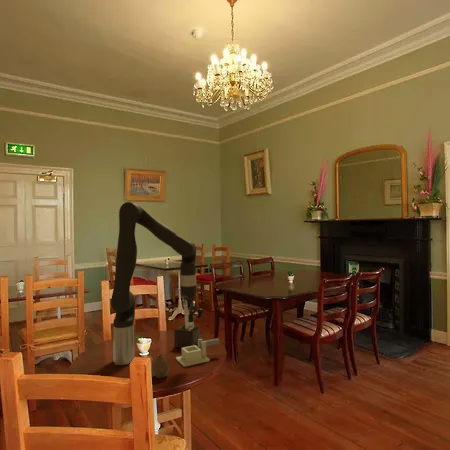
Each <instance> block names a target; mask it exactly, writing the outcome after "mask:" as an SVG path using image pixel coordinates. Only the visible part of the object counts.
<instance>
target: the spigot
mask: <svg viewBox="0 0 450 450" xmlns="http://www.w3.org/2000/svg"><path fill="white" fill-rule="evenodd" d="M194 317H195V316H194V314H193V319H194ZM194 320H195V319H194ZM194 322H195V321H193V322H191V323H190V322H189V320H188V309H187V307H186V306H185V312H184V325H185V329H193V328H194V326H195V325H194V324H195V323H194Z"/></svg>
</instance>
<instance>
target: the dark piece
mask: <svg viewBox="0 0 450 450" xmlns="http://www.w3.org/2000/svg"><path fill="white" fill-rule="evenodd" d="M196 313H197V316H194V320H195V319H201V318H203V314H204V313H205V311H204V309H203V308H198V309H196ZM173 338H174V342H173V343H174V345H173V346H174V348H176V349H180V350H182V348H184V347H189V346H194V345H196V346H197V347H198V339H201V326H199V325H194V328H193V329H185V324H183V325H180V326H179V327H177V328H175V329H173Z"/></svg>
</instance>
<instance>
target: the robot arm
mask: <svg viewBox="0 0 450 450" xmlns="http://www.w3.org/2000/svg"><path fill="white" fill-rule="evenodd" d="M137 224H138V225H140V226H142V227H143V228H145V229H146V230H147V231H149V232H151V234H152V235H153V236H154V237H155V238H157V239H158V240H160V241H161V242H162V243H164V244H165V245H167V246H169V247H170V248H172V250H174V252H176V253H178V255H180V256H181V262H180V265H179V266H180V273H179V274H180V276H179V288H180V289H179V290H180V295H181V296H182V297H181V305H182V309H183V311H184V313H185V306H186V307H187V309H188V320H189V322H190V323H191V322H193V321H194V320H195V319H193V315H194V314H196V313H197V301H195V298H194V296H195V295H197V291H198V290H197V289H198V288H197V273H196V270H197V269H196V257H197V246H196V244H195V243H194V242H193V241H190V240H186V239H185V238H183V237H181V236H180V234H178V232H176V231H175V230H173V229H171V228H170V227H169V226H167V225H166V224H164V223H162V222H160V221H159V220H158V219H156V218H155V217H153V216H152V215H151V214H150V213H149V212H148V211H146V210H145V209H144V208H143V207H142V206H141V205H140V203H137V202H134V201H133V202H132V201H126V202H124V203H122V204H121V205H120V208H119V209H118V238H117V246H116V247H117V248H116V254H115V268H114V269H115V270H114V283H113V289H112V293H111V298H110V305H111V309H112V310H113V312H115V316H114V319H113V325H112V326H113V341H112V356H113V360H112V361H113V363H114V365H115V366H125V365H129V363H130V362H131V360H132V359H133V358H134V359H135V322H134V321H135V317H136V316H135V315H136V297H135V295H134V293H133V291H132V292H131V291H130V289H131V282H132V278H133V275H134V273H135V269H136V266H137V258H138V246H137V239H136V235H135V234H136V233H135V232H136V225H137ZM194 322H195V321H194ZM130 364H131V363H130Z"/></svg>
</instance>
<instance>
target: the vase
mask: <svg viewBox="0 0 450 450" xmlns="http://www.w3.org/2000/svg"><path fill="white" fill-rule="evenodd" d="M169 368H170V367H169V362H168V361H167V359H166V358H165V356H164V355H162V354H158V355H157V356H156V359H155V360H154V361H153V363H152V368H151V370H152V375H153V376H155V378H157V379H164V378H165V377H166V376H167V375H168V373H169Z"/></svg>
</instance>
